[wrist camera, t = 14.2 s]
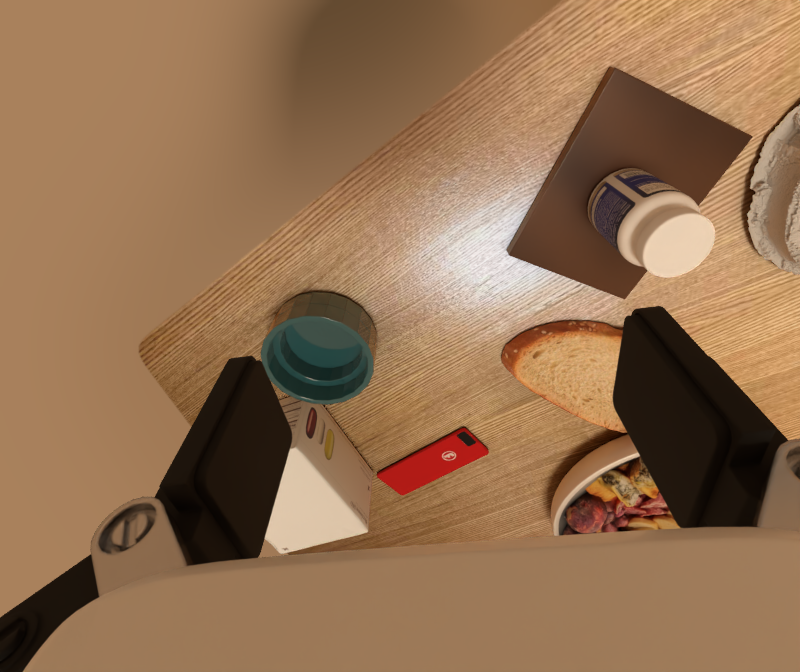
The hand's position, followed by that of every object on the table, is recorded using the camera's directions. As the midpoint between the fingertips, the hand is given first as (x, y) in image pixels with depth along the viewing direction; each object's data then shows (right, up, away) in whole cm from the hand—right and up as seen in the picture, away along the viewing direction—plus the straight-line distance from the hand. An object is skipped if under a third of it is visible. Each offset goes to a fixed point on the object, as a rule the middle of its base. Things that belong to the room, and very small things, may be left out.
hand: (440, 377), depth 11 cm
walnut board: (+18, +13, +27) cm, 35 cm away
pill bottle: (+18, +13, +26) cm, 34 cm away
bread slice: (+21, -3, +39) cm, 44 cm away
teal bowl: (-9, +1, +36) cm, 37 cm away
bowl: (+35, -20, +50) cm, 64 cm away
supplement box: (-14, -13, +47) cm, 51 cm away
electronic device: (+3, -16, +48) cm, 51 cm away
